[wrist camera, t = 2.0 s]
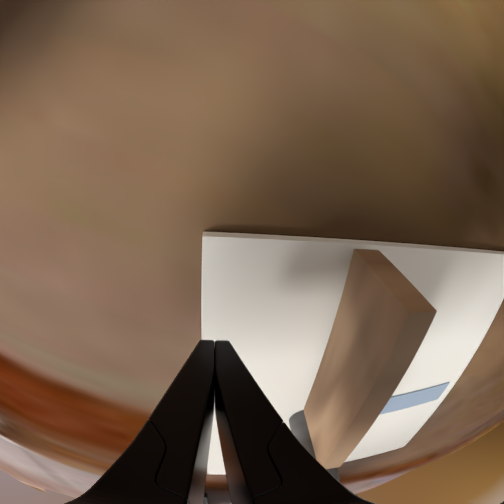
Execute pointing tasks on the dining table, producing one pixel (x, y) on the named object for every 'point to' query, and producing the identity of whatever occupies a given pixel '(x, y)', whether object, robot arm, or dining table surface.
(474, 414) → the dining table surface
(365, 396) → the fold panel
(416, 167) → the dining table surface
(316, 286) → the card
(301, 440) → the fixed panel
